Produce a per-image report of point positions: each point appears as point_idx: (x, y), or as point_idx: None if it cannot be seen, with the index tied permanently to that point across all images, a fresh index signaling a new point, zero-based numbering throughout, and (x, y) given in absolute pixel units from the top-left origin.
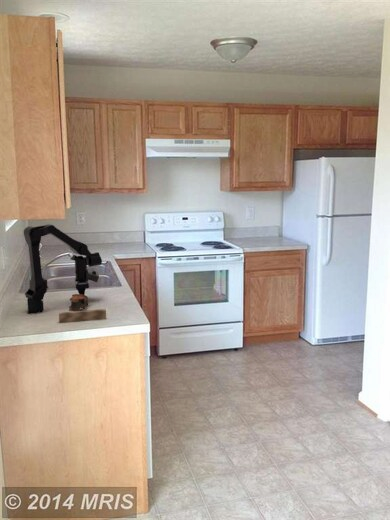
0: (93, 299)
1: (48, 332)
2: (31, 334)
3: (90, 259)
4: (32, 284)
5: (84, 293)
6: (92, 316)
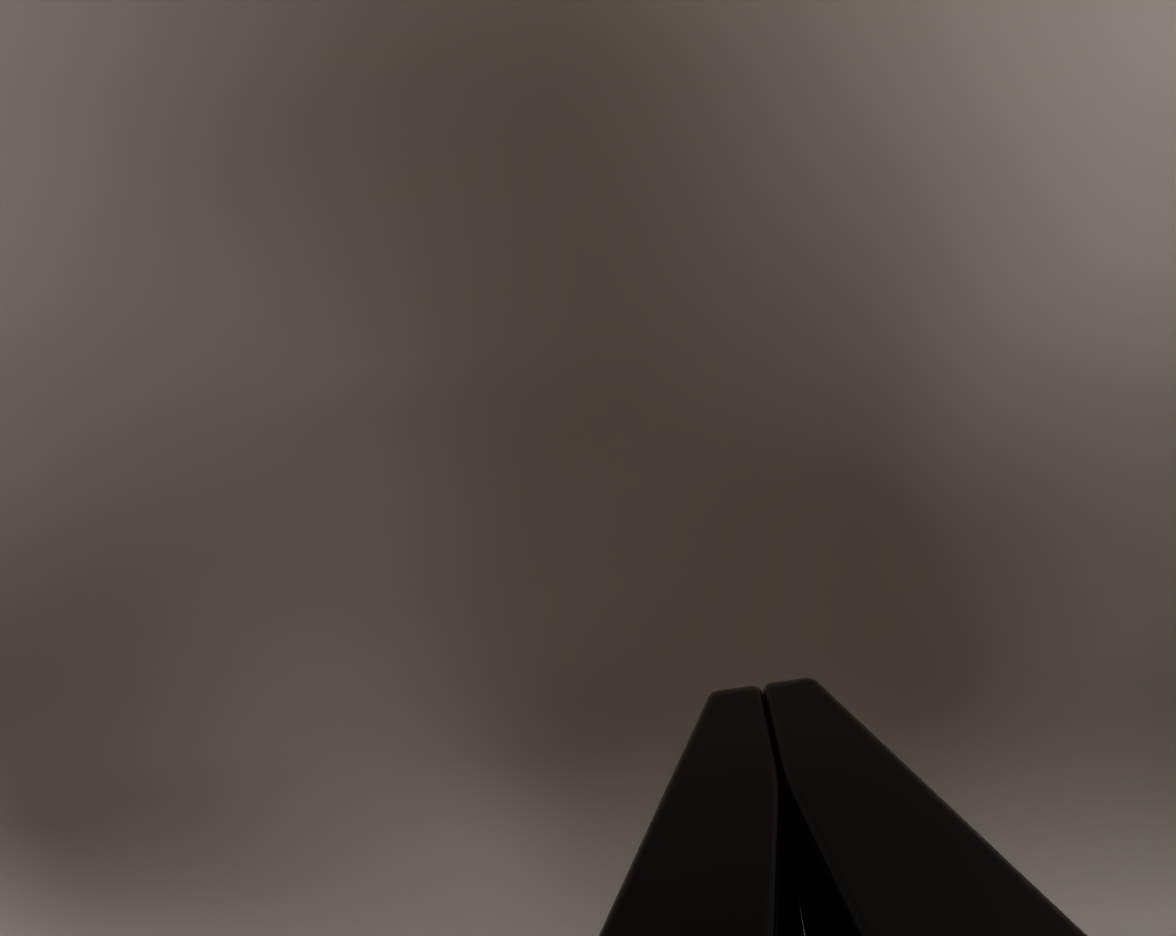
0: (172, 101)
1: None
2: None
3: None
4: None
5: (1052, 905)
6: None
